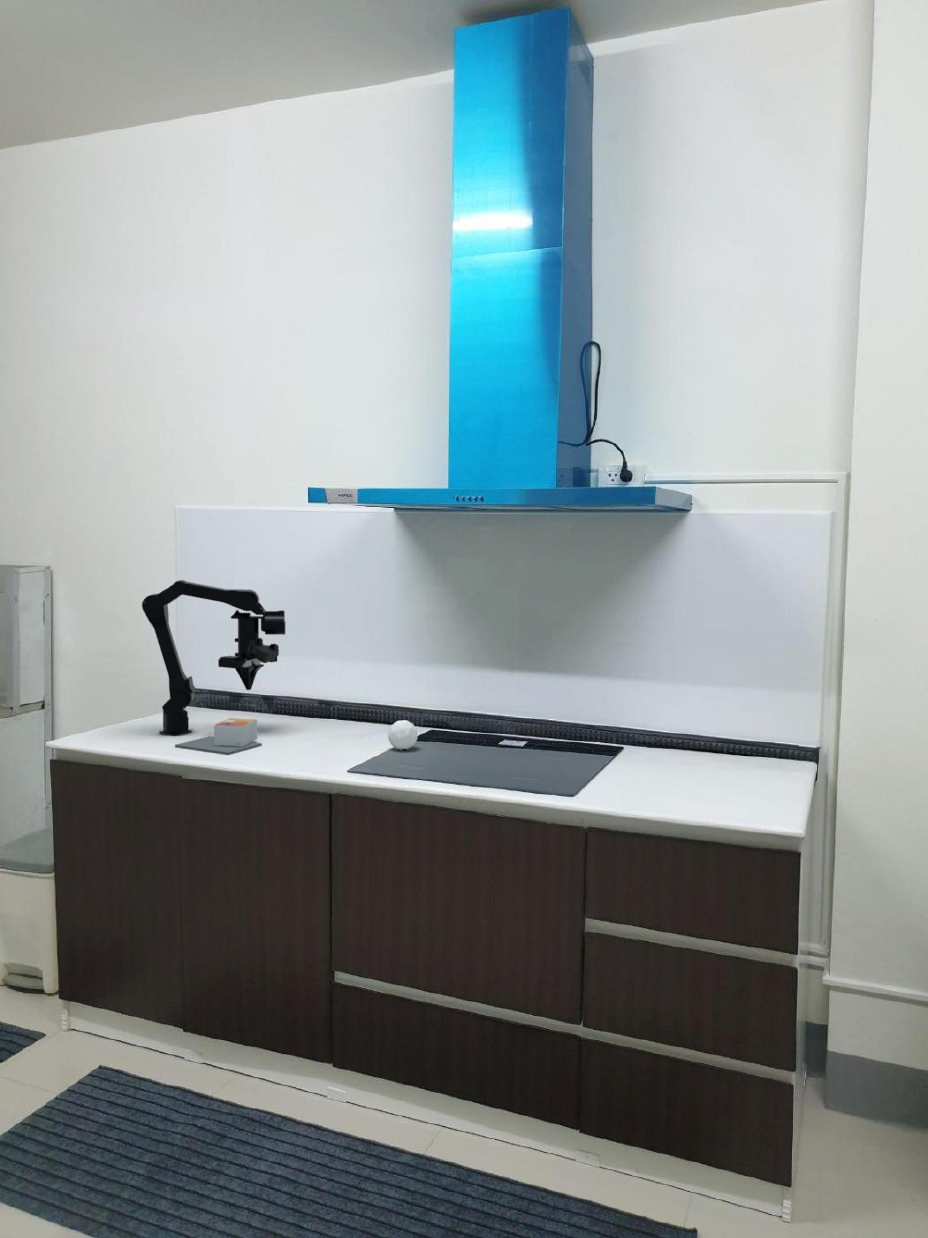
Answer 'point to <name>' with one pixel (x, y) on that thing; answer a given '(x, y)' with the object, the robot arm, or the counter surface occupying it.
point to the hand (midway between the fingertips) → (248, 689)
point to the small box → (235, 732)
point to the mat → (208, 746)
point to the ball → (402, 735)
